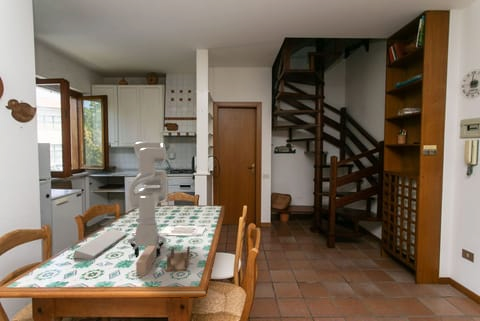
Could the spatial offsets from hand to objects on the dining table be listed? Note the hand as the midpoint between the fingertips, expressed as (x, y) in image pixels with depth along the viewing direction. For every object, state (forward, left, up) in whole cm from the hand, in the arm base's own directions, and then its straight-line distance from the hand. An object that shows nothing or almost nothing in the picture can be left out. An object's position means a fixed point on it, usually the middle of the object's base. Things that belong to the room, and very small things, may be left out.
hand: (147, 256), depth 121 cm
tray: (+11, +49, -5) cm, 50 cm away
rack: (+15, +1, -4) cm, 15 cm away
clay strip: (0, +1, -4) cm, 4 cm away
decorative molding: (-31, +25, -5) cm, 41 cm away
